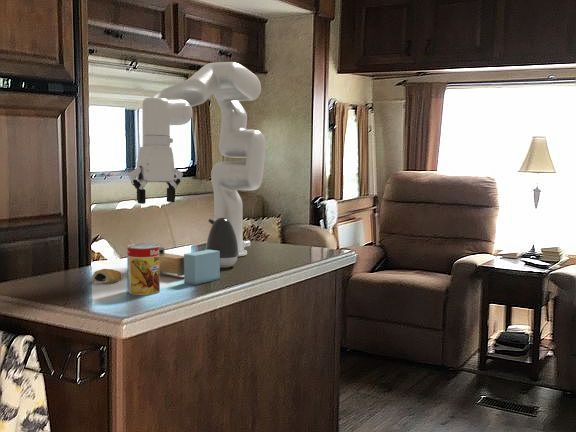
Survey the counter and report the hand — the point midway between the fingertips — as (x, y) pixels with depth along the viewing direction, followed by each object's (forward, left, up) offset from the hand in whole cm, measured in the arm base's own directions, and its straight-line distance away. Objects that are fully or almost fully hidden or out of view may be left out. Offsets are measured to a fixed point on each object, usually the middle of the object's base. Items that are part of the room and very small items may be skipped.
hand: (156, 202), depth 198 cm
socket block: (-2, +16, -21) cm, 26 cm away
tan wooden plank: (-2, -1, -20) cm, 20 cm away
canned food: (+17, +13, -21) cm, 30 cm away
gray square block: (-2, -7, -21) cm, 22 cm away
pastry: (+14, -5, -22) cm, 26 cm away
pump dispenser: (-22, +5, -21) cm, 31 cm away
